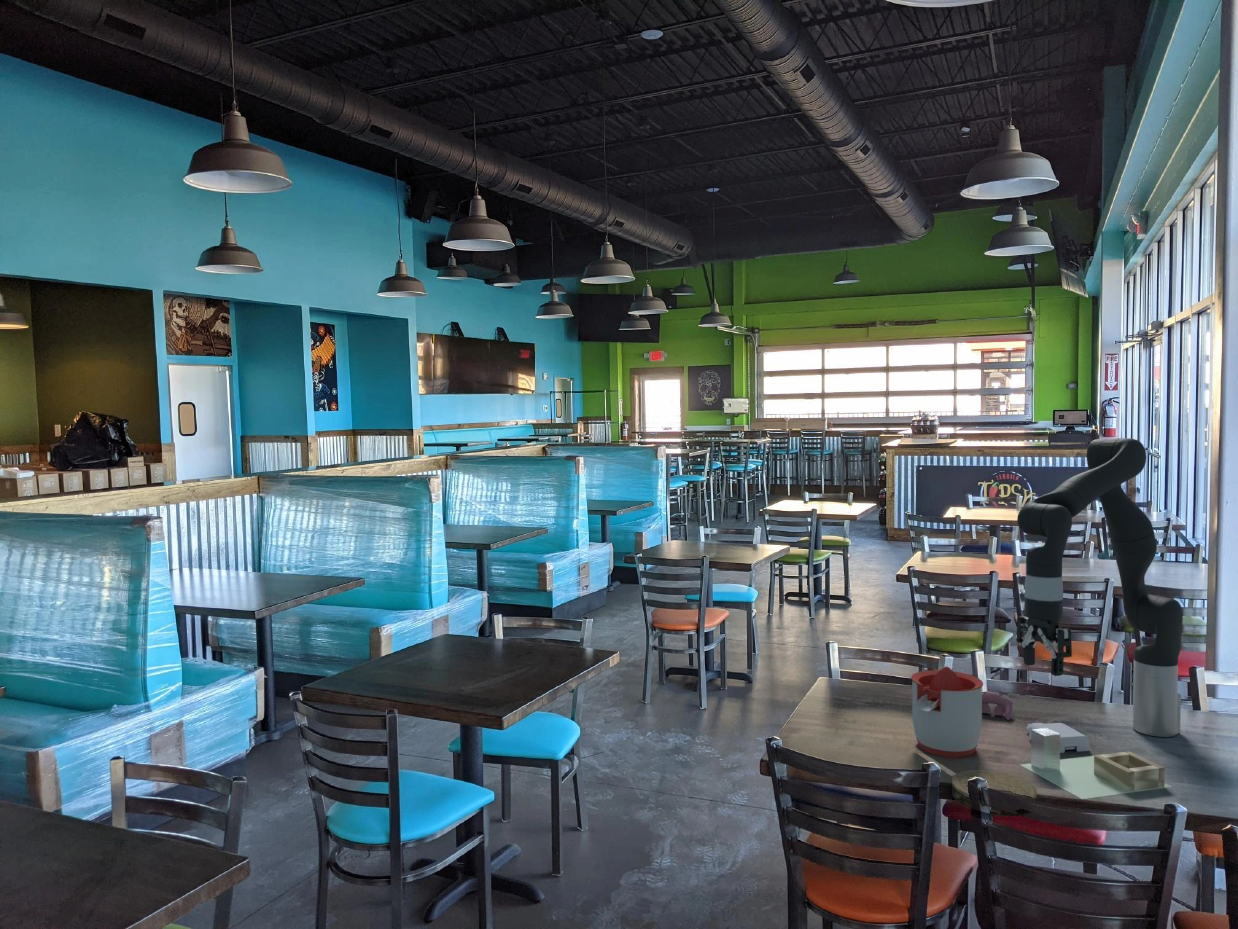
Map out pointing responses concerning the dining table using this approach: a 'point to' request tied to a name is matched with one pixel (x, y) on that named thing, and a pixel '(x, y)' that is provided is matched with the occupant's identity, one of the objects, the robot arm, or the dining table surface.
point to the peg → (1045, 750)
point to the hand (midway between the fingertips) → (1042, 670)
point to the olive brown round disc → (994, 781)
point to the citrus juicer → (947, 711)
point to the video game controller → (1002, 704)
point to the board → (1082, 779)
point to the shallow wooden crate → (1129, 771)
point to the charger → (1064, 736)
